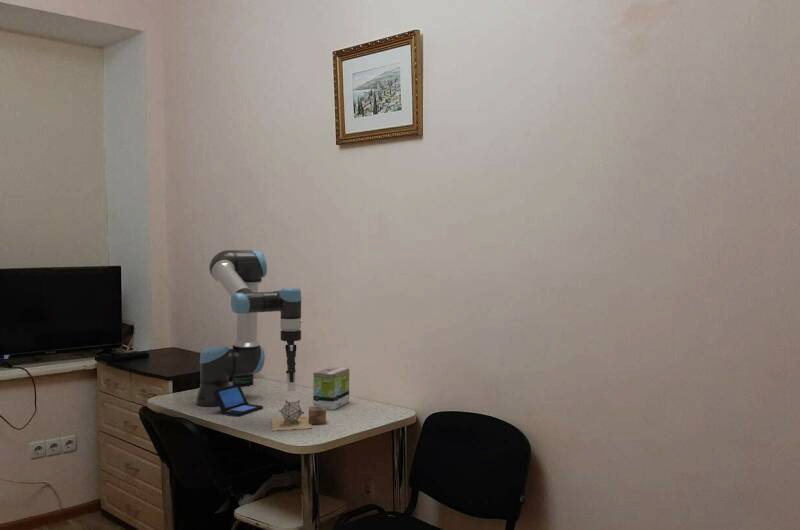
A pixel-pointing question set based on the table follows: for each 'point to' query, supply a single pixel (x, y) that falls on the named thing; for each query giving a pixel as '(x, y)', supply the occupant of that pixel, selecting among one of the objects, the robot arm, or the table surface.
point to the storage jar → (243, 380)
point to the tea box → (331, 388)
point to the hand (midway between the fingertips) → (290, 386)
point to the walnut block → (317, 415)
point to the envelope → (290, 424)
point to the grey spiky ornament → (291, 411)
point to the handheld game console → (234, 401)
